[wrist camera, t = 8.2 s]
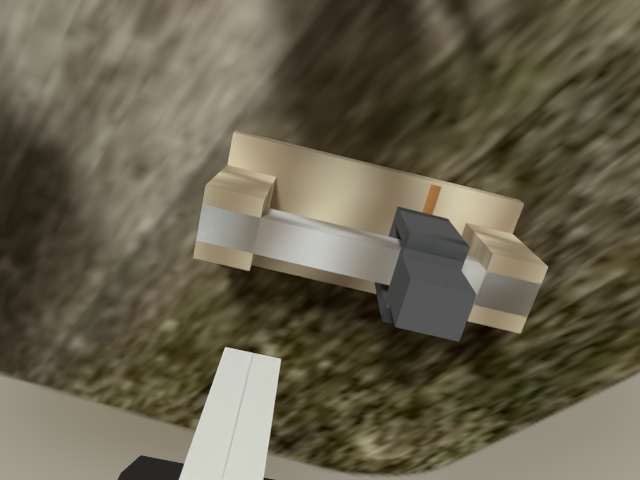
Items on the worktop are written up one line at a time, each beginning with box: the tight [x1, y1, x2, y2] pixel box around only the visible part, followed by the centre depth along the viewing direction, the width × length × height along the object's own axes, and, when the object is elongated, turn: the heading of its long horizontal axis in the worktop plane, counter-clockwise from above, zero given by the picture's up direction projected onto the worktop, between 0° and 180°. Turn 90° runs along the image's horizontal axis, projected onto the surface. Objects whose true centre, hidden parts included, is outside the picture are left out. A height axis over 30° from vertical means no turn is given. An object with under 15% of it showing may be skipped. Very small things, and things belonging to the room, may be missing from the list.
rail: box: [193, 130, 548, 333], centre depth 29 cm, size 18×8×7 cm, turn 76°
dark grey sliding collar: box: [375, 206, 477, 342], centre depth 26 cm, size 3×5×8 cm, turn 167°
